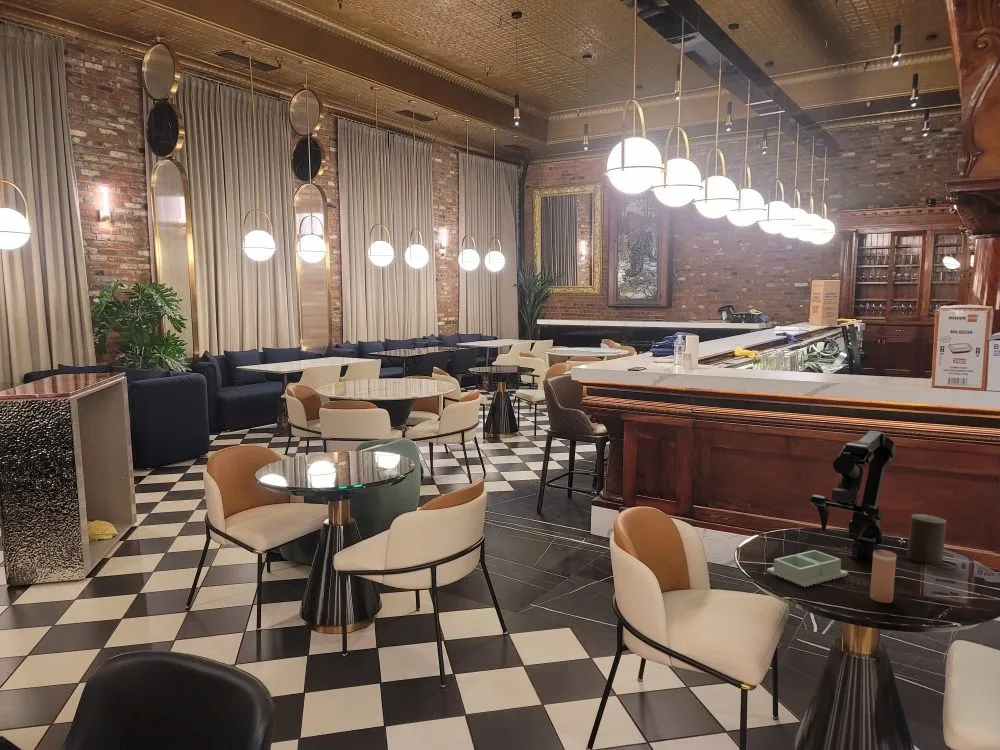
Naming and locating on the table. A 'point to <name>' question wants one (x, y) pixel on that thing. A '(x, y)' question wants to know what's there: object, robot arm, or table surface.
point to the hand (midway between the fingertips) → (839, 535)
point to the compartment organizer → (808, 568)
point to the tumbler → (883, 576)
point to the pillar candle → (926, 539)
